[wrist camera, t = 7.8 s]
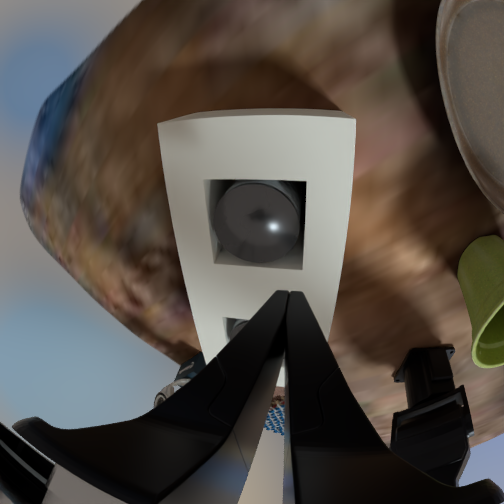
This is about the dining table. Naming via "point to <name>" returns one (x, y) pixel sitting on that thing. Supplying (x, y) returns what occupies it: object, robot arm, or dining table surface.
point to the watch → (182, 376)
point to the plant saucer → (475, 86)
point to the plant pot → (484, 298)
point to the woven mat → (276, 416)
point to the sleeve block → (263, 168)
